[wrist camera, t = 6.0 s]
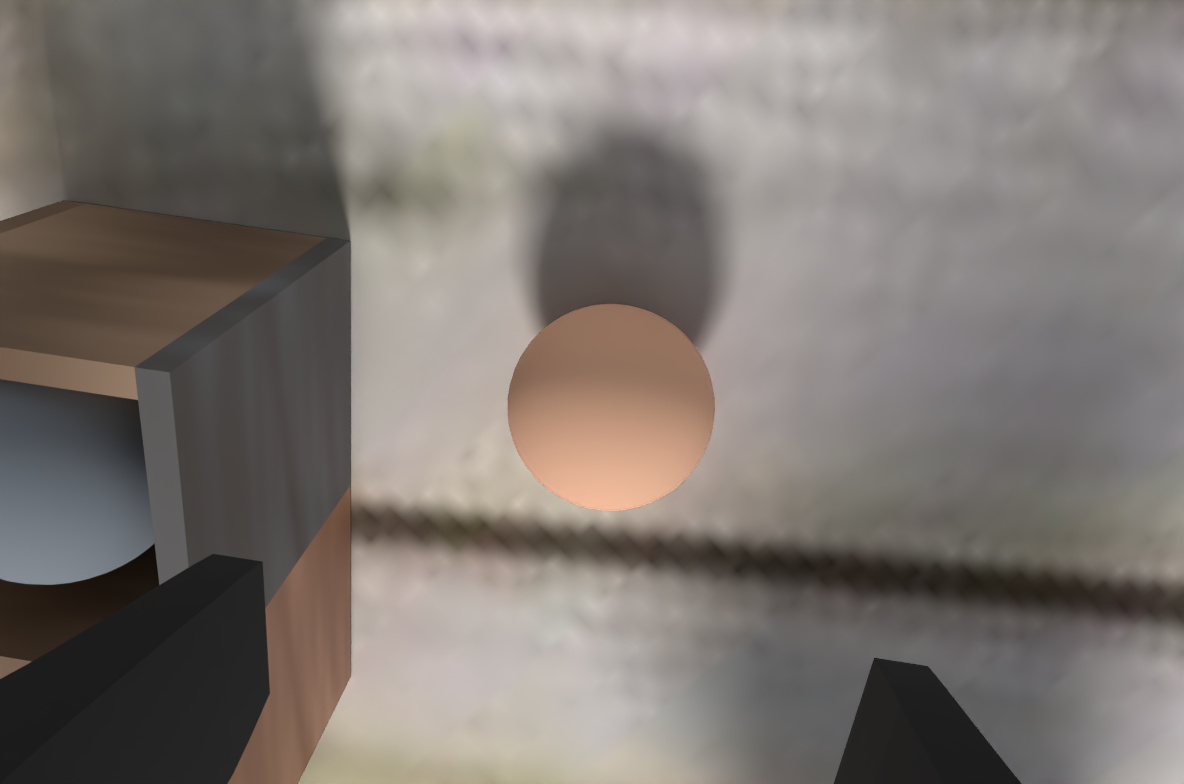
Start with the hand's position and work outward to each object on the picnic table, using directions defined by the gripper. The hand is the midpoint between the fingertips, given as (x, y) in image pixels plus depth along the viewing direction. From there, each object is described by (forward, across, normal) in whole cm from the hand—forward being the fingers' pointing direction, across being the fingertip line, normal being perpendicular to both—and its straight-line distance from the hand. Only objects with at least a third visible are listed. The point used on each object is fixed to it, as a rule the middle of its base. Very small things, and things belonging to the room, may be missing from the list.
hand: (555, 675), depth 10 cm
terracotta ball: (+9, 0, 0) cm, 9 cm away
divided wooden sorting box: (+9, +9, +4) cm, 14 cm away
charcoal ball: (+5, +9, +2) cm, 10 cm away
